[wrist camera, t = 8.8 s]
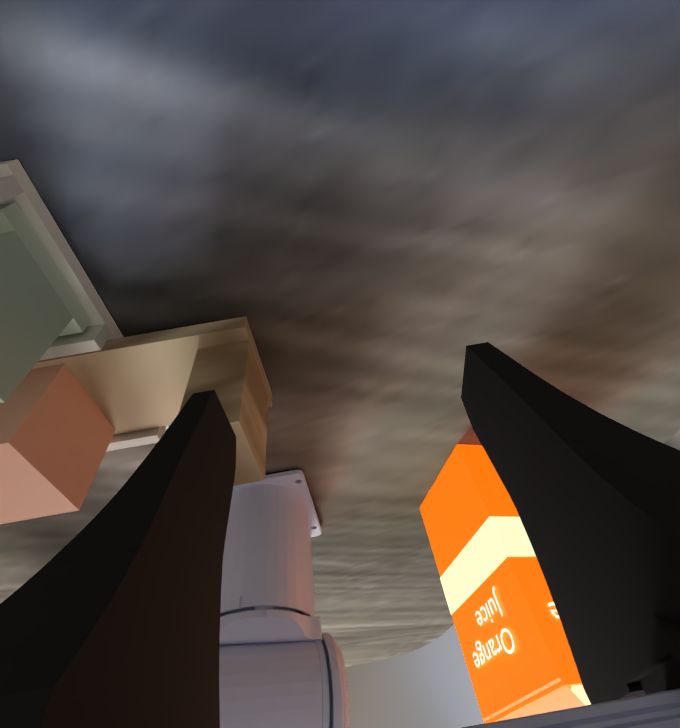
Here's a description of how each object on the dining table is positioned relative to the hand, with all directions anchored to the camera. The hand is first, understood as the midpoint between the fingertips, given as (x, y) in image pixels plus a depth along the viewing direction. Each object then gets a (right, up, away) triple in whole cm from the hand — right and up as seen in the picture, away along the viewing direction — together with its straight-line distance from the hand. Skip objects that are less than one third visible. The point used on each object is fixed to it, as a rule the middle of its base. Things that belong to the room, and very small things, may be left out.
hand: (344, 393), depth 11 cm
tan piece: (-11, 0, +10) cm, 15 cm away
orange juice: (+12, -9, +22) cm, 26 cm away
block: (-16, -1, +9) cm, 18 cm away
